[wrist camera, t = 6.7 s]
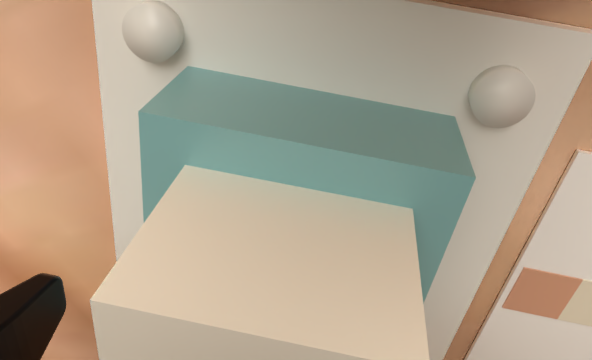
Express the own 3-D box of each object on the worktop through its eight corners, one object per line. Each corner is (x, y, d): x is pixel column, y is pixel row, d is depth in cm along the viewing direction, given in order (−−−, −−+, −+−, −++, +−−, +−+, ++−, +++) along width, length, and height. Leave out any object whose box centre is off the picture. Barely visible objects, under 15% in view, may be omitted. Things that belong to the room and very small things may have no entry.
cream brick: (412, 208, 10) (430, 371, 7) (363, 356, 13) (358, 526, 9) (185, 164, 10) (89, 299, 7) (184, 318, 13) (116, 469, 9)
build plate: (592, 29, 11) (677, 82, 8) (437, 353, 17) (449, 451, 14) (99, -59, 11) (-2, -41, 8) (127, 286, 18) (76, 366, 15)
